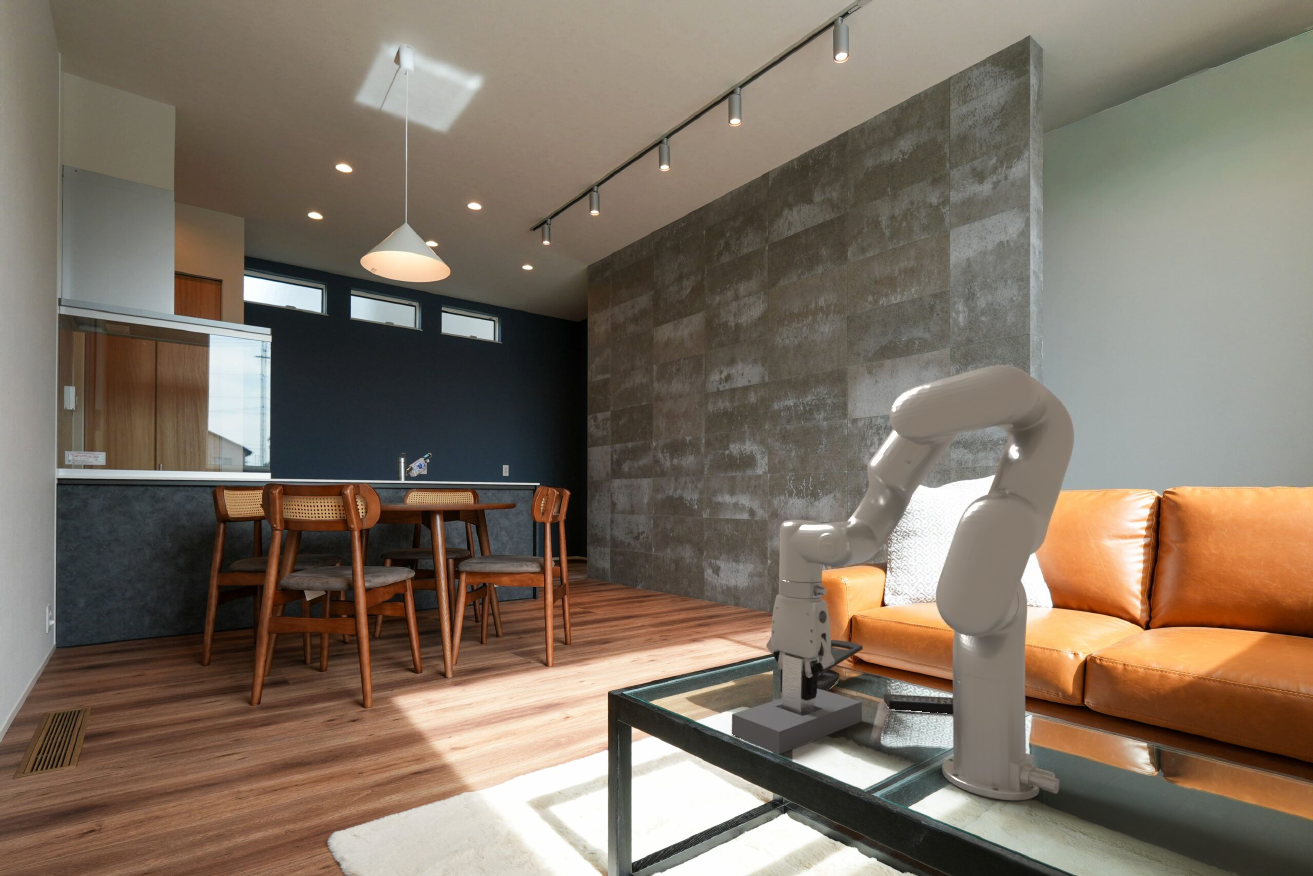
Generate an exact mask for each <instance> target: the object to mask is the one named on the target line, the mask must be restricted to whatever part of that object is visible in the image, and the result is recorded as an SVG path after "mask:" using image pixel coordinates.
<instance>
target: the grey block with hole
mask: <svg viewBox="0 0 1313 876" xmlns="http://www.w3.org/2000/svg"><path fill="white" fill-rule="evenodd" d="M862 708H863V703H862V701H861V700H859V699H853V698H850V697H847V696H844V695H841V694H838V693H833V692H831V691H824V690H821V689H818V688H817V694H816V698H815V699H814V712H813V713H810V714H807V715H805V716H802V715H799V714H796V713H793V712H790V711H787V710H784V709H782V698H779V699H775V700H773V701H770V702H766V703H763V704H759V705H756V706H753V707H750V708H747V709H744V710H741V711H736V712H733V713H732V714H731V735H732V734H733V735H735V736H738V737H739V738H738V739H740V738H741V739H740V740H742V739H743V740H742V741H745V742H747V741H748V742H747V743H749V744H752V745H754V744H755V746H757V747H759V746H760V748H762V749H764V748H765V750H767V751H769V750H770V751H769V752H771V753H774V754H776V753H777V755H781V754H784V753H787V752H788V751H791V750H793V749H796V748H799V747H802V746H803V745H806V744H808V743H809V744H810V743H812V742H813V741H817V740H819V739H821V738H823V737H826V736H829V735H831V734H834V733H836V732H838V731H842V730H844V729H847V728H849V727H851V726H855V725H857V724H859V723H861V722H862V721H863V720H862V719H863V715H862V713H863V711H862V710H863V709H862ZM735 736H734V737H735Z"/></svg>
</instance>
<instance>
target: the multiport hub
mask: <svg viewBox="0 0 1313 876" xmlns="http://www.w3.org/2000/svg"><path fill="white" fill-rule="evenodd" d="M884 702H885V703H886V704H887V706H888V707H889V709H895V710H911V711H922V712H930V713H937V712H938V713H947V714H946V715H948V714H953V697H952V696H951V697H949V696H931V695H929V696H928V695H911V694H909V695H908V694H894V693H893V694H890V693H885V694H884V695H883V703H884ZM930 713H929V714H930Z"/></svg>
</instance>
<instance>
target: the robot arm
mask: <svg viewBox="0 0 1313 876" xmlns="http://www.w3.org/2000/svg"><path fill="white" fill-rule="evenodd" d="M889 420H890V425H891V427H892V430H891V431H890V432H889V434H888V435H887V437H886V438H885V439H884V441H883V443H882V444H881V445H880V447H879V448H878V449H877V451H876V452H875V453H874V455H873V456H872V457H871V459H870V460H869V461H868V463H867V466H866V467H867V469H866V470H867V477H868V486H867V487H868V488H867V489H866V490H867V491H866V493H865V495H864V497H863V499H862V501H861V502H860V504H859V505H858V507H857V508H856V509H855V511H854V512H853V513H852V515H851V516H850V518H849V519H847V521H843V520H842V521H838V522H837V521H835V522H834V521H833V522H824V523H823V522H822V523H820V522H817V521H813V520H806V519H805V520H803V519H787V520H784V521H783V522H782V523H781V524H780V528H779V563H778V564H779V571H778V577H779V578H778V594H776V596H775V600H774V605H773V610H772V618H771V628H770V629H771V633H770V635H771V636H770V638H769V639H768V641H767V643H766V645H765V646H766V648H767V650H768V651H769V652H770V653H771V654H772V655H773V658H774V659H775V661H776V662H777V668H778V669H779V670H780V693H782V674H783V654H790V655H794V656H798V657H801V658H804V665H805V672H806V676H804V677H803V700H806V701H807V700H810V699H813V698H816V694H817V675H820V673H821V672H822V671H823V670H824V669H825V668H827V667H829V666H831V665H833V664H834V663H835V660H834V658H833V656H832V654H831V640H832V636H831V635H832V634H831V622H830V621H831V620H830V615H829V609H828V608H829V607H828V603H827V600H826V599H823V596H827V594H828V588H827V587H824V586H823V566H826V567H829V568H843V567H849V566H851V565H856V564H857V565H858V564H862V563H865V562H867V561H869V560H870V559H872V558H873V557H874V556H875V555H876V553H877V552H878V551H879V550H880V549H881V547H882V546H883V545H884V544H885V543H886V541H887V540H888V539H889V537H890V536H891V535H892V534H893V532H894V531H895V530H896V528H897V526H898V525H899V523H900V522H901V520H902V518H903V516H904V514H905V512H906V510H907V508H908V506H909V505H910V502H911V501H912V497H913V495H914V494H915V492H916V491H917V489H918V488H919V486H920V485H921V484H922V483H923V482H924V480H925V479H926V477H927V476H928V474H929V473H930V471H931V470H932V469H933V468H934V467H935V465H936V464H937V463H938V461H940V458H941V457H942V456H943V454H945V452H946V451H947V449H948V448H949V447H950V446H951V445H952V443H953V442H954V441H955V439H956V438H957V436H958V435H960V434H965V433H968V432H973V431H978V430H982V429H987V428H992V427H997V428H1001V429H1003V430H1004V431H1005V432H1006V434H1007V442H1006V446H1005V449H1004V450H1003V452H1002V454H1001V457H1000V458H999V462H998V465H997V468H996V470H995V474H994V478H993V480H992V483H991V486H990V489H989V490H988V493H987V494H985V495H982V496H980V497H978V498H976V499H975V500H973V501H972V502H971V503H970V504H969V505H968V506H967V507H966V509H965V510H964V512H963V513H962V515H961V517H960V518H959V521H958V524H957V525H956V528H955V532H954V535H953V538H952V541H951V543H950V547H949V549H948V553H947V554H946V557H945V561H944V564H943V566H942V570H941V573H940V576H939V579H938V581H937V586H936V589H935V604H936V608H937V611H938V614H939V615H940V617H941V619H942V620H943V621H944V623H945V624H946V625H947V626H948V627H949V628H951V629H952V630H953V631H954V632H953V640H952V641H953V643H952V698H953V715H952V737H953V738H952V741H953V742H952V743H953V744H952V747H953V748H952V749H953V751H952V752H953V753H952V755H953V756H951V757H948V758H946V759H945V760H943V762H942V763H941V772H942V774H943V776H944V777H945V779H946V780H948V781H949V782H950V783H951V784H953V785H955V786H956V787H958V788H960V789H962V790H964V791H967V792H969V793H972V794H974V795H975V794H976V795H978V796H981V797H986V798H990V799H996V800H1002V801H1003V800H1004V801H1025V800H1029V799H1032V798H1035V797H1036V796H1038V795H1039V793H1040V789H1041V790H1044V791H1047V792H1049V793H1052V794H1058V792H1059V791H1060V790H1059V789H1060V780H1059V778H1058V777H1057V778H1056V774H1055V772H1053V771H1050V770H1046V769H1041V768H1038V767H1037V765H1035V764H1034V755H1033V754H1031V753H1027V745H1026V744H1027V741H1026V737H1027V736H1026V731H1027V730H1026V633H1027V621H1028V620H1027V619H1028V597H1027V592H1026V589H1025V587H1024V584H1023V582H1022V579H1023V576H1024V573H1025V570H1026V568H1027V565H1028V562H1029V559H1030V557H1031V555H1033V554H1035V553H1036V552H1037V551H1038V550H1039V549H1040V548H1041V547H1042V545H1043V544H1044V542H1045V540H1046V537H1047V532H1048V530H1049V525H1050V522H1051V519H1052V515H1053V513H1054V510H1055V507H1056V504H1057V501H1058V499H1059V496H1060V492H1061V489H1062V485H1063V482H1064V479H1065V476H1066V473H1067V471H1068V467H1069V464H1070V462H1071V458H1072V454H1073V450H1074V449H1073V448H1074V443H1075V430H1074V425H1073V421H1072V418H1071V415H1070V414H1069V411H1068V409H1067V408H1066V406H1065V405H1064V403H1063V402H1062V401H1061V400H1060V399H1059V398H1058V397H1057V396H1056V395H1055V394H1054V393H1053V392H1052V391H1051V390H1050V389H1048V388H1047V387H1046V386H1044V385H1043V384H1042V383H1041V382H1040V381H1038V380H1037V379H1036V378H1034V377H1033V376H1031V375H1030V374H1029V373H1027V372H1026V371H1024V370H1023V369H1021V368H1018V367H1016V366H1013V365H1007V364H999V365H998V364H997V365H990V366H985V367H980V368H977V369H973V370H970V371H966V372H964V373H959V374H956V375H951V376H948V377H944V378H941V379H937V380H933V381H930V382H929V381H928V382H926V383H922V384H919V385H916V386H912V387H910V388H908V389H906V390H904V391H903V392H901V394H899V395H898V396H897V397H896V399H895V400H894V402H893V403H892V405H891V408H890V412H889ZM819 656H822V661H820V662H819ZM811 661H812V662H811ZM812 666H813V667H812Z"/></svg>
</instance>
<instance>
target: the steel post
mask: <svg viewBox="0 0 1313 876" xmlns="http://www.w3.org/2000/svg"><path fill="white" fill-rule="evenodd" d="M811 662H812V661H811ZM812 667H813V666H812ZM804 676H806V672H805V665H804V658H801V657H798V656H794V655H790V654H783V674H782V692H781V699H782V709H784V710H787V711H790V712H793V713H796V714H799V715H802V716H805V715H807V714H810V713H813V712H814V699H815V698H813V699H810V700H807V701H806V700H803V677H804Z"/></svg>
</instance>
